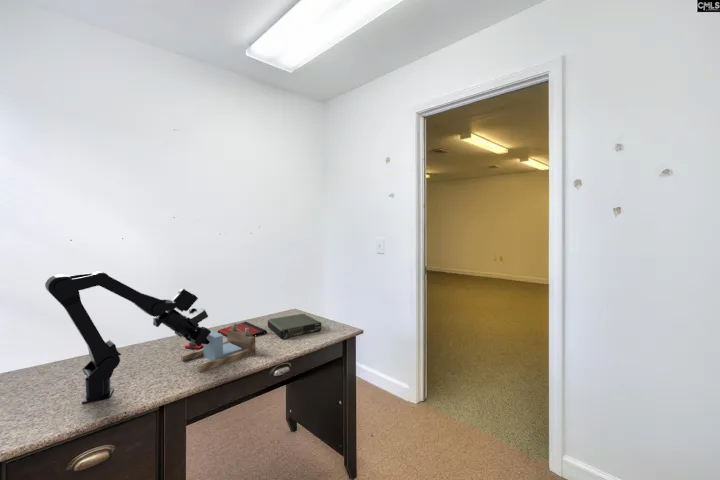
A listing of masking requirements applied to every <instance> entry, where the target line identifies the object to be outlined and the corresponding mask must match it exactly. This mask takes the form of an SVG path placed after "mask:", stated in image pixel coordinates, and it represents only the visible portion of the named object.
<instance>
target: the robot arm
mask: <svg viewBox="0 0 720 480" xmlns="http://www.w3.org/2000/svg"><path fill="white" fill-rule="evenodd" d="M44 284H45V285H44V288H45V290H46V291H47V292H48V293H49V294H50V295H51V296H52V297H53V298H54V299H55V300H56V301H57V302H58V303H59V304H60V305H61V306H62V307H63V308H64V310H65V311H66V313H67V315H68V317H69V318H70V319H71V322H72V323H73V324H74V326H75V327H76V329H77V331H78V333H79V334H80V336H81V337H82V339H83V341H84V343H85V344H86V346H87V349H88V355H89V357H90V361H89V362H88V363H87V364H86V365H85V366H84V367H83V368H82V370H81V371H82V372H83V374H84V376H86V378H85V379H84V381H85V382H84V383H85V384H84V385H85V396H84V397H83V399H82V400H81V404H87V403H92V402H97V401H100V400H101V401H102V400H105V399H106V400H107V399H109V398H110V397H111V395H112V394H113V391H114V390H115V389H114V387H113V386H112V387H111V378H112V375H113V373H114V372H115V371H114V370H115V369H116V368H117V367H118V366H119V364H120V362H121V357H120V356H122V353H120V352H119V351H118V349H117V346H116V344H115V343H114V342H113V341H112V340H111V339H109V340H108V341H105V340H104V339H103V337H102V335H101V334H100V332H99V330H98V328H97V327H96V325H95V323H94V322H93V320H92V318H91V316H90V315H89V313H88V312H87V309H86V308H85V307H84V305H83V303H82V301H81V300H82V299H81V295H80V291H83V290H87V289H91V288H94V287H101V288H104V289H105V290H108V291H109V292H111V293H113V294H116V295H117V296H119V297H121V298H123V299H125V300H127V301H129V302H131V303H132V304H133V305H135V307H137V308H138V309H140V310H141V311H143V312H144V313H146V314H147V315H149V316H151V317H153V318H152V320H153V322H152V323H153V324H152V325H153V326H154V327H156V328H159V327H160V325H161V324H163V325H165V326H166V327H167V328H169V329H170V330H171V331H174V334H175V335H177V336H178V337H180V338H185V340H186V341H187V342H189V343H190V342H192V343H194V344H195V345H197V346H201V344H209V340H208V339H207V337H208V335H209V334H210V333H211V331H212V330H211V331H210V329H209V328H207V327H205V326H200V324H199V323H201V322H202V321H204V320H205V319H208V318H209V314H208V313H207V311H206V309H204V308H203V307H202V308H201V307H200V308H199V307H198V308H195V307H192V306H193V305H194V304H195V303H196V302H197V300H198V299H199V297H197V295H196V294H193V293H191V291H188V290H186V289H185V288H183V287H182V288H180V289H179V291H178V292H177V294H175V295H174V297H172V299H160V298H158V297H155V296H152V295H148V294H145V293H142V292H140V291H138V290H136V289H134V288H132V287H130V286H128V285H126V284H124V283H123V282H121V281H119V280H117V279H115V278H114V277H111V276H110V275H108V274H107V273H106V272H102V271H94V272H89V273H80V274H73V275H67V274H56V275H55V274H54V275H52V276H51V277H48V279H47V280H46V282H45V283H44ZM191 307H192V308H191ZM179 311H180V312H181V313H180V312H179ZM184 312H188V315H187V316H186V315H183V314H182V313H184Z"/></svg>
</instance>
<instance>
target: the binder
mask: <svg viewBox="0 0 720 480" xmlns="http://www.w3.org/2000/svg"><path fill="white" fill-rule="evenodd" d="M236 324H237V330H239V331H241V332H244V333H245V328H249V335H252V336H254V337H255V335H257V336H256V337H258V334H259V333H261V334H263V333H262V332H265V333H264V334H266V333H268V331H267V330H266V329H264V328H261V327H259V326H257V325H256V324H255V325H254V324H252V323H250V322H249V321H243V322H241V323H236ZM231 328H233V325H230V326H228V327H224V328H221V329H219V330H217V333H218V334H220V333H221V334H220V335H223V336H225V337H227V329H231ZM259 335H260V334H259ZM256 337H255V338H256Z"/></svg>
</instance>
